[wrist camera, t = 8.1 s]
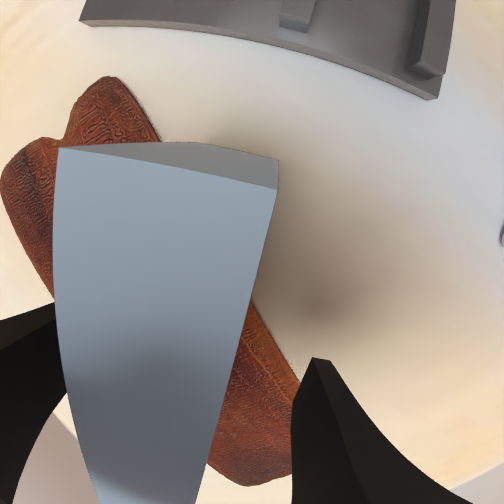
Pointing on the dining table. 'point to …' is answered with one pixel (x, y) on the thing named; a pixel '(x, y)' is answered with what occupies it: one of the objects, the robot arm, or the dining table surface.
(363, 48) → the metal plate
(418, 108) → the dining table surface
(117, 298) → the pale blue upright panel
